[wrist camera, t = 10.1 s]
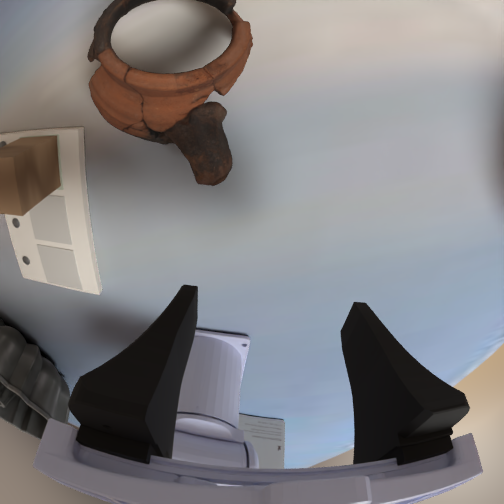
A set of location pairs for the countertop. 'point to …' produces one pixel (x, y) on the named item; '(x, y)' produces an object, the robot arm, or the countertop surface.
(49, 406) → the bundt pan
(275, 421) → the skincare box
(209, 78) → the pottery mug
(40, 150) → the walnut block
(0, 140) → the board
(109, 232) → the countertop surface
